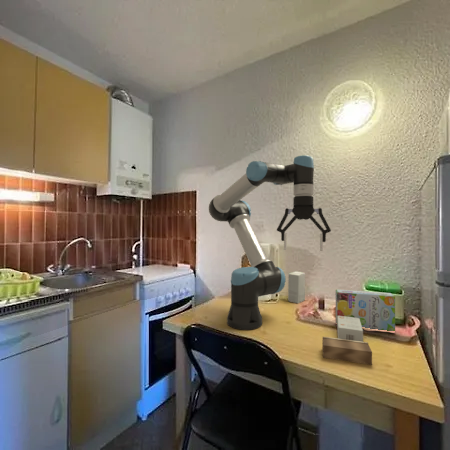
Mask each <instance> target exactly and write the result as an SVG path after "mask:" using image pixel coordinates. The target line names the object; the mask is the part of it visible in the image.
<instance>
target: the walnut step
mask: <svg viewBox="0 0 450 450" xmlns="http://www.w3.org/2000/svg"><path fill="white" fill-rule="evenodd" d="M321 348H322V357H323V358H324V359H325V358H326V359H331V360H337V361H342V362H343V361H344V362H350V363H356V364H364V365H368V366H369V365H370V366H371V365H373V351H372V348H371V347H370V345H369V342H367V341H363V342H361V341H353V340H345V339H338V337H329V336H322V347H321Z"/></svg>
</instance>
